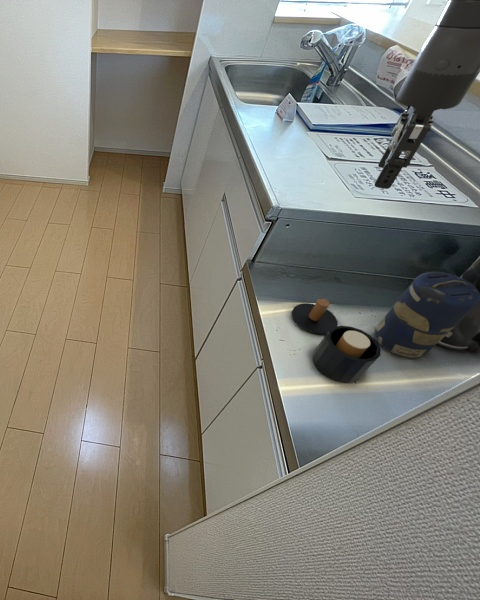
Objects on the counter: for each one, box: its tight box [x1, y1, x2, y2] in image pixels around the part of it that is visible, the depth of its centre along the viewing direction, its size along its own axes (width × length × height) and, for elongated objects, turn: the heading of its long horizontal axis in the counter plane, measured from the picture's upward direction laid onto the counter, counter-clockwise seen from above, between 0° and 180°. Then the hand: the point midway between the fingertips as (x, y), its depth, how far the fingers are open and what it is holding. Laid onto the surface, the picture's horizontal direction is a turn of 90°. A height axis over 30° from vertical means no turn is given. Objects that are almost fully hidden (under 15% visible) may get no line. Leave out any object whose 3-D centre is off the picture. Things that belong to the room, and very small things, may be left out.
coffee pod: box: [335, 331, 370, 358], centre depth 69 cm, size 4×4×8 cm
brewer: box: [312, 325, 382, 384], centre depth 70 cm, size 9×9×8 cm
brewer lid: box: [291, 298, 339, 335], centre depth 79 cm, size 9×9×6 cm
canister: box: [374, 271, 480, 358], centre depth 69 cm, size 10×10×18 cm
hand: (383, 176), depth 59 cm, fingers open, 8 cm apart
